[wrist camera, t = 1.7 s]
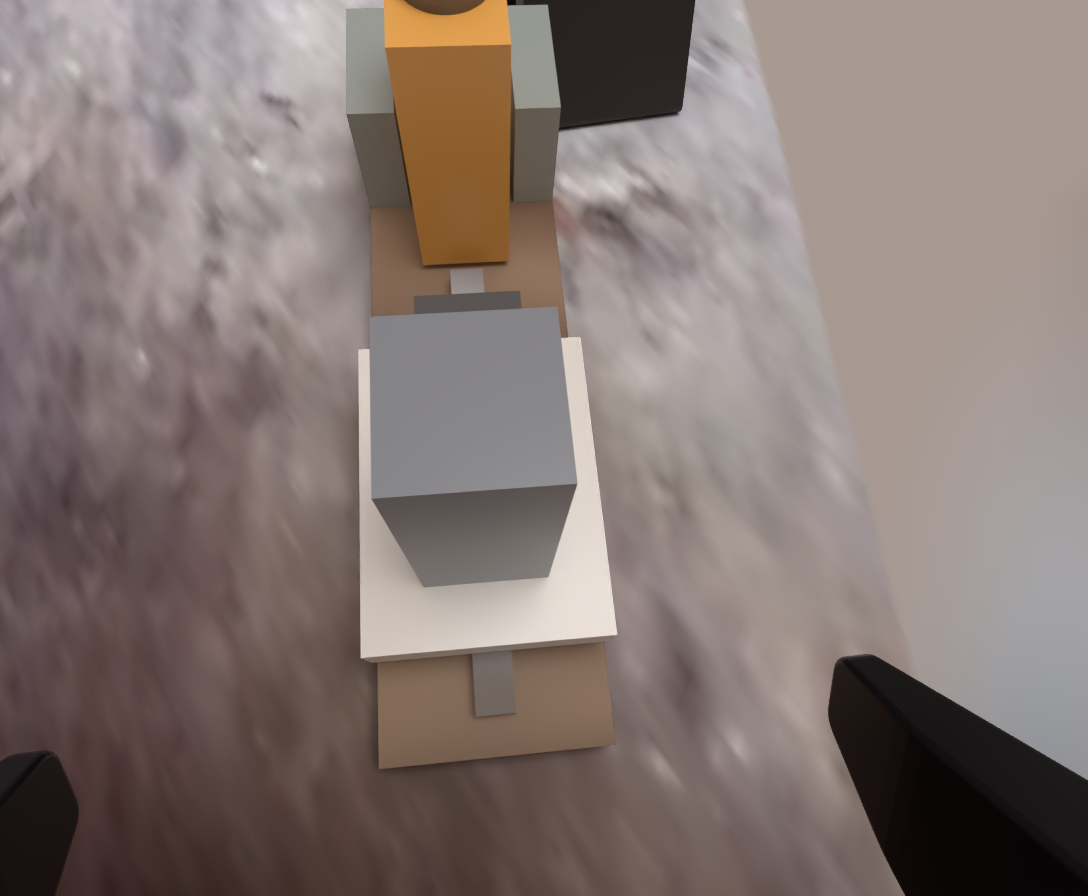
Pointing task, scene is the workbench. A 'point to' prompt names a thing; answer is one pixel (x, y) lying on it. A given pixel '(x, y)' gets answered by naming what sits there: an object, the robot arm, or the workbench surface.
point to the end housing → (528, 117)
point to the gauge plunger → (454, 122)
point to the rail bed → (503, 676)
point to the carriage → (477, 483)
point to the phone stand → (618, 56)
